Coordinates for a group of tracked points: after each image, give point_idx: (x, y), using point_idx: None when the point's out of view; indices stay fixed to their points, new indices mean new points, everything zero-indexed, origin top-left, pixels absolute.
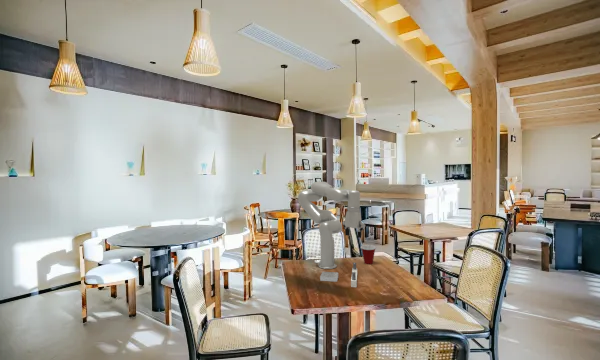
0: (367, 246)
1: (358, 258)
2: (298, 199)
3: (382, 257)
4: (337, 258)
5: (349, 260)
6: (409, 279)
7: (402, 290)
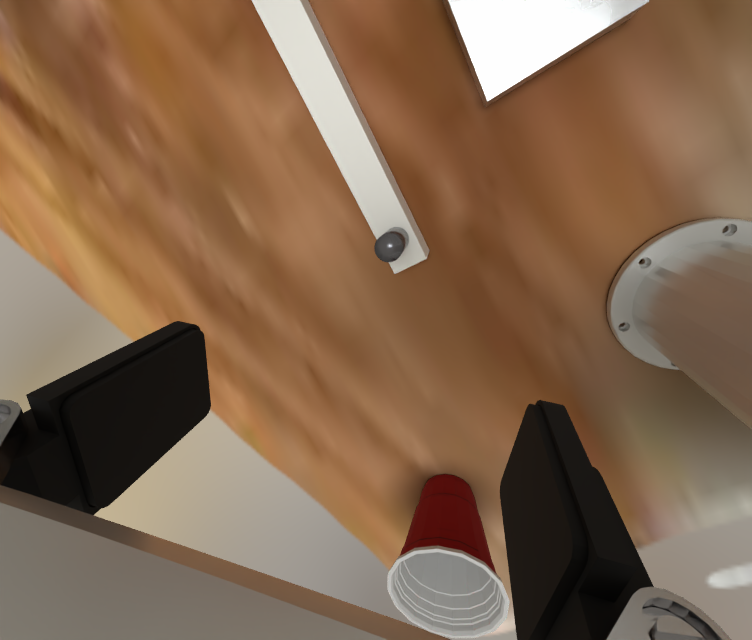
0: (472, 622)
1: None
2: None
3: None
4: (692, 514)
5: None
6: None
7: (65, 139)
